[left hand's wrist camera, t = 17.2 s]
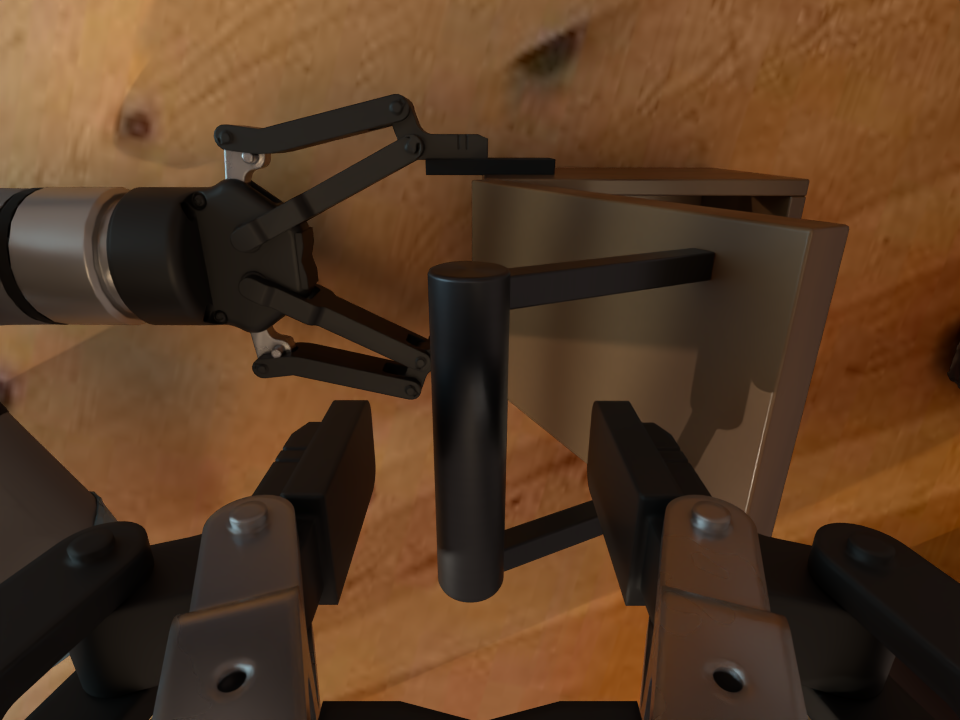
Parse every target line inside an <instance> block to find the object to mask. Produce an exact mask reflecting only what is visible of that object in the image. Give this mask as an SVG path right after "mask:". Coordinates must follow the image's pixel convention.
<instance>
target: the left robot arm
mask: <svg viewBox="0 0 960 720" xmlns="http://www.w3.org/2000/svg"><path fill="white" fill-rule="evenodd" d="M587 477H588V486H589V490H590V494H591V497H592V500H593V503H594V506H595V510H596V513H597V516H598V519H599V522H600V525H601V529H602V532H603V535H604V538H605V541H606V545H607V548H608V551H609V554H610V557H611V560H612V564H613V567H614V570H615V573H616V576H617V579H618V583H619V586H620V589H621V592H622V595H623V598H624V602H625V605H626V606H646V608H647V611H648V614H649V621H648V627H647V634H646V643H645V654H644V664H643V675H642V685H641V696H640V706H639V707H638V703H637V701H559V702H555V703H551V704H547V705H544V706H540V707H536V708H532V709H529V710H525V711H521V712H517V713H514V714H510V715H506V716H502V717H498V718H495V719H491V720H808V717H807V715H808V716H809V717H810V719H811V720H960V584H959V583H958V582H957V581H955V580H954V579H952V578H951V577H950V576H948V575H947V574H945V573H944V572H942V571H941V570H940V569H938V568H937V567H935V566H934V565H933V564H931V563H930V562H928V561H927V560H926V559H924V558H923V557H921V556H920V555H919V554H917V553H916V552H914V551H913V550H911V549H910V548H909V547H907V546H906V545H904V544H903V543H901V542H900V541H898V540H896V539H894V538H893V537H891V536H889V535H887V534H884V533H882V532H880V531H877V530H874V529H872V528H868V527H865V526H861V525H856V524H849V523H832V524H827V525H824V526H822V527H820V528H819V529H818V530H817V532H816V534H815V538H814V541H813V545H812V546H810V545H805V544H801V543H796V542H791V541H786V540H781V539H777V538H772V537H768V536H765V535H762V534H759V533H758V532H757V528H756V525H755V523H754V521H753V520H752V519H751V518H750V516H749V515H747V514H746V513H745V512H744V511H743V510H741V509H740V508H738V507H737V506H735V505H733V504H731V503H729V502H726V501H724V500H721V499H718V498H715V497H712V496H711V494H710V493H709V491H708V490H707V488H706V487H705V485H704V484H703V482H702V480H701V479H700V477H699V476H698V474H697V473H696V471H695V470H694V468H693V467H692V465H691V464H690V463H688V459H687V458H686V456H685V455H684V453H683V451H680V447H679V445H678V444H677V442H676V441H675V439H674V438H673V436H672V435H671V434H670V433H668V432H667V431H666V430H664V429H663V428H661V427H660V426H658V425H657V424H655V423H654V422H641V420H640V418H639V417H638V415H637V413H636V411H635V410H634V408H633V406H632V405H631V403H630V402H629V401H594V403H593V406H592V413H591V425H590V437H589V448H588V460H587ZM374 483H375V452H374V440H373V428H372V416H371V407H370V403H369V401H368V400H334V401H333V402H332V404H331V406H330V408H329V409H328V411H327V413H326V415H325V416H324V418H323V420H322V422H308V423H307V424H306V425H304V426H303V427H301V428H300V429H298V430H297V431H295V432H294V433H292V434H291V436H290V438H289V439H288V441H287V442H286V444H285V445H284V447H283V451H280V453H279V455H278V456H277V458H276V461H275V462H273V464H272V465H271V467H270V468H269V470H268V472H267V473H266V475H265V476H264V478H263V479H262V481H261V482H260V484H259V486H258V487H257V489H256V490H255V492H254V493H253V495H252V496H250V497H245V498H242V499H239V500H236V501H234V502H231V503H229V504H227V505H225V506H223V507H222V508H220V509H219V510H217V511H216V512H215V513H214V514H213V515H211V516H210V518H209V519H208V520H207V521H206V523H205V525H204V528H203V532H202V534H200V535H196V536H192V537H188V538H183V539H179V540H174V541H169V542H164V543H159V544H155V545H150V543H149V540H148V536H147V533H146V531H145V529H144V528H143V527H142V526H141V525H139V524H136V523H133V522H126V521H117V522H109V523H104V524H99V525H96V526H92V527H89V528H86V529H84V530H81V531H79V532H77V533H74V534H72V535H70V536H69V537H67V538H65V539H63V540H62V541H60V542H59V543H57V544H56V545H54V546H53V547H51V548H50V549H49V550H47V551H46V552H44V553H43V554H42V555H40V556H39V557H37V558H36V559H34V560H33V561H32V562H30V563H29V564H27V565H26V566H25V567H23V568H22V569H20V570H19V571H18V572H16V573H15V574H13V575H12V576H10V577H9V578H8V579H6V580H5V581H3V582H2V583H1V584H0V720H2V719H3V717H4V715H5V714H6V712H7V711H8V710H9V708H10V707H11V706H12V705H13V704H14V703H15V702H16V701H17V699H18V698H20V697H21V696H22V695H23V694H24V693H25V692H26V691H27V690H28V689H29V688H30V687H32V686H33V685H34V684H35V683H36V682H37V681H38V680H39V679H40V678H41V677H42V676H43V675H45V674H46V673H47V672H48V671H49V670H50V669H51V668H52V667H53V666H54V665H55V664H57V663H58V662H59V661H60V660H61V659H62V658H63V657H64V656H65V655H66V654H67V653H68V652H69V654H70V656H71V659H72V662H73V664H74V667H75V669H76V671H75V672H74V673H73V674H72V675H70V676H69V677H68V678H67V679H66V680H65V681H64V682H63V683H62V684H61V685H60V686H59V687H58V688H57V689H56V690H55V691H54V692H53V693H52V694H51V695H50V696H49V697H48V698H47V699H46V700H45V701H44V702H42V703H41V704H40V705H39V706H38V707H37V708H36V709H35V710H34V711H33V712H32V713H31V714H30V715H29V716H28V717H27V718H26V719H25V720H149V719H150V717H151V716H152V715H153V717H152V720H469V719H465V718H462V717H458V716H454V715H450V714H446V713H443V712H439V711H435V710H431V709H428V708H424V707H420V706H416V705H413V704H409V703H405V702H401V701H323V703H322V707H321V706H320V696H319V685H318V675H317V664H316V654H315V643H314V634H313V627H312V621H313V618H314V615H315V613H316V610H317V607H318V605H338V603H339V599H340V596H341V593H342V590H343V586H344V583H345V580H346V577H347V573H348V570H349V567H350V564H351V560H352V557H353V554H354V551H355V547H356V544H357V541H358V538H359V534H360V531H361V528H362V525H363V521H364V518H365V515H366V512H367V508H368V505H369V502H370V499H371V495H372V492H373V488H374Z"/></svg>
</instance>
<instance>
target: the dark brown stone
mask: <svg viewBox="0 0 960 720" xmlns="http://www.w3.org/2000/svg"><path fill="white" fill-rule="evenodd" d="M952 361H953V362H952V364H951V366H950V371H949V372H947V374H948V376H949V379H950V380H951V381H953V382H955V383H956V384H957V385H958V388H960V342H959V344H958V346H957V349H956V353H955V356H954V358H953V360H952Z"/></svg>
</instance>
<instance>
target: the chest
mask: <svg viewBox="0 0 960 720" xmlns="http://www.w3.org/2000/svg"><path fill="white" fill-rule="evenodd" d="M482 180H504V181H512V182H520V183H527V184H535V185H543V186H550V187H558V188H566V189H574V190H581V191H589V192H597V193H605V194H612V195H620V196H628V197H636V198H643V199H651V200H659V201H667V202H674V203H682V204H690V205H697V206H705V207H713V208H721V209H728V210H736V211H744V212H752V213H759V214H767V215H775V216H783V217H790V218H798V219H801V217H802V212H803V208H804V203H805V195H806V194H807V190H808V185H809V180H808V179H801V178H793V177H784V176H776V175H768V174H759V173H751V172H742V171H734V170H726V169H717V168H555V175H482Z"/></svg>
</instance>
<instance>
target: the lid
mask: <svg viewBox="0 0 960 720" xmlns="http://www.w3.org/2000/svg"><path fill="white" fill-rule="evenodd" d="M848 232H849V226H847V225H844V224H837V223H829V222H821V221H814V220H806V219H798V218H790V217H783V216H775V215H767V214H759V213H752V212H744V211H736V210H728V209H721V208H713V207H705V206H697V205H690V204H682V203H674V202H667V201H659V200H651V199H643V198H636V197H628V196H620V195H612V194H605V193H597V192H589V191H581V190H574V189H566V188H558V187H550V186H543V185H535V184H527V183H520V182H512V181H504V180H473V181H472V261H458V262H449V263H443V264H439V265H436V266H434V267H432V268H430V269H429V272H428V297H429V326H430V355H431V384H432V413H433V442H434V471H435V501H436V530H437V559H438V581H439V584H440V586H441V588H442V589H443V591H444V592H445V593H446V594H447V595H448V596H450V597H451V598H453V599H455V600H458V601H462V602H479V601H483V600H486V599H488V598H490V597H491V596H493V595H494V594H495V593H496V592H497V591H498V590H499V588H500V587H501V585H502V582H503V575H504V571H507V570H510V569H512V568H515V567H518V566H520V565H523V564H526V563H528V562H531V561H533V560H536V559H539V558H541V557H544V556H547V555H549V554H552V553H555V552H557V551H560V550H563V549H565V548H568V547H571V546H573V545H576V544H579V543H581V542H584V541H587V540H589V539H592V538H595V537H597V536H600V535H602V534H603V532H602V529H601V525H600V522H599V519H598V516H597V513H596V510H595V506H594V503H593V500H591V501H589V502H586V503H583V504H580V505H577V506H574V507H571V508H568V509H565V510H562V511H559V512H556V513H553V514H550V515H547V516H545V517H542V518H539V519H536V520H533V521H530V522H527V523H524V524H521V525H518V526H515V527H512V528H509V529H506V530H505V491H506V449H507V407H508V400H509V401H510V402H511V403H512V404H513V405H515V406H516V407H517V408H518V409H520V410H521V411H522V412H523V413H525V414H526V415H527V416H528V417H530V418H531V419H532V420H533V421H535V422H536V423H537V424H538V425H540V426H541V427H542V428H543V429H544V430H546V431H547V432H548V433H549V434H551V435H552V436H553V437H554V438H556V439H557V440H558V441H559V442H561V443H562V444H563V445H564V446H566V447H567V448H568V449H569V450H571V451H572V452H573V453H574V454H575V455H577V456H578V457H579V458H580V459H582V460H583V461H584V462H585V463H587V460H588V448H589V437H590V425H591V413H592V406H593V403H594V401H629V402H630V403H631V405H632V406H633V408H634V410H635V411H636V413H637V415H638V417H639V418H640V420H641V422H654V423H655V424H657V425H658V426H660V427H661V428H663V429H664V430H666V431H667V432H668V433H670V434H671V435H672V436H673V438H674V439H675V441H676V442H677V444H678V445H679V447H680V451H683V453H684V455H685V456H686V458H687V459H688V463H690V464H691V465H692V467H693V468H694V470H695V471H696V473H697V474H698V476H699V477H700V479H701V480H702V482H703V484H704V485H705V487H706V488H707V490H708V491H709V493H710V494H711V496H712V497H715V498H718V499H721V500H724V501H726V502H729V503H731V504H733V505H735V506H737V507H738V508H740V509H741V510H743V511H744V512H745V513H746V514H747V515H749V516H750V518H751V519H752V520H753V521H754V523H755V525H756V528H757V532H758V533H759V534H762V535H765V536H768V537H771V536H772V532H773V528H774V524H775V520H776V516H777V512H778V508H779V504H780V500H781V496H782V493H783V489H784V485H785V481H786V477H787V473H788V469H789V465H790V461H791V457H792V453H793V449H794V445H795V441H796V437H797V433H798V429H799V425H800V421H801V417H802V414H803V410H804V406H805V402H806V398H807V394H808V390H809V386H810V382H811V378H812V374H813V370H814V366H815V362H816V358H817V354H818V350H819V346H820V342H821V338H822V334H823V331H824V327H825V323H826V319H827V315H828V311H829V307H830V303H831V299H832V295H833V291H834V287H835V283H836V279H837V275H838V271H839V267H840V263H841V259H842V255H843V252H844V248H845V244H846V240H847V236H848Z"/></svg>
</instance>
